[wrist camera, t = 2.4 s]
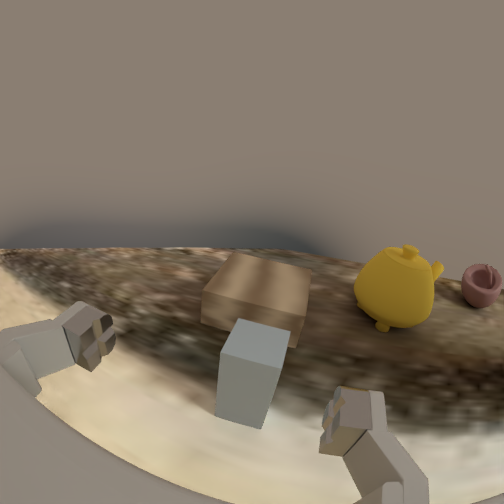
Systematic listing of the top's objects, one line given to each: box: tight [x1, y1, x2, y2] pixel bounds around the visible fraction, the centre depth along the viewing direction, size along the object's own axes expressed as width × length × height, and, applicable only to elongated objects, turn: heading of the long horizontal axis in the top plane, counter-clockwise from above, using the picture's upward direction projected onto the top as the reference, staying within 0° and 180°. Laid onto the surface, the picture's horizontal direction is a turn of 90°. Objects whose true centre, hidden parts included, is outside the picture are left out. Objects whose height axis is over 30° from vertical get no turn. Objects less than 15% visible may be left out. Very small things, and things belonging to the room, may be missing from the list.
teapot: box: [354, 245, 444, 332], centre depth 45 cm, size 20×16×14 cm
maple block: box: [201, 252, 312, 348], centre depth 43 cm, size 14×14×6 cm
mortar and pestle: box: [461, 264, 502, 308], centre depth 52 cm, size 12×12×12 cm
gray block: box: [215, 318, 291, 429], centre depth 25 cm, size 5×5×10 cm
